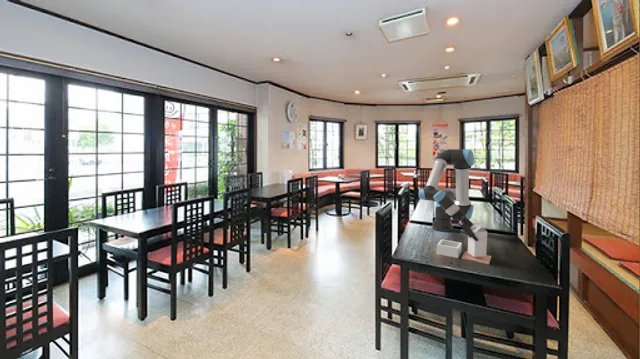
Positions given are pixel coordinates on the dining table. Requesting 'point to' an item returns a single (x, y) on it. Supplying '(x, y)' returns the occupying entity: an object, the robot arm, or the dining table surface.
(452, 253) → the white open box
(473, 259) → the terracotta tile
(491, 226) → the dining table surface
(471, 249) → the milk carton
